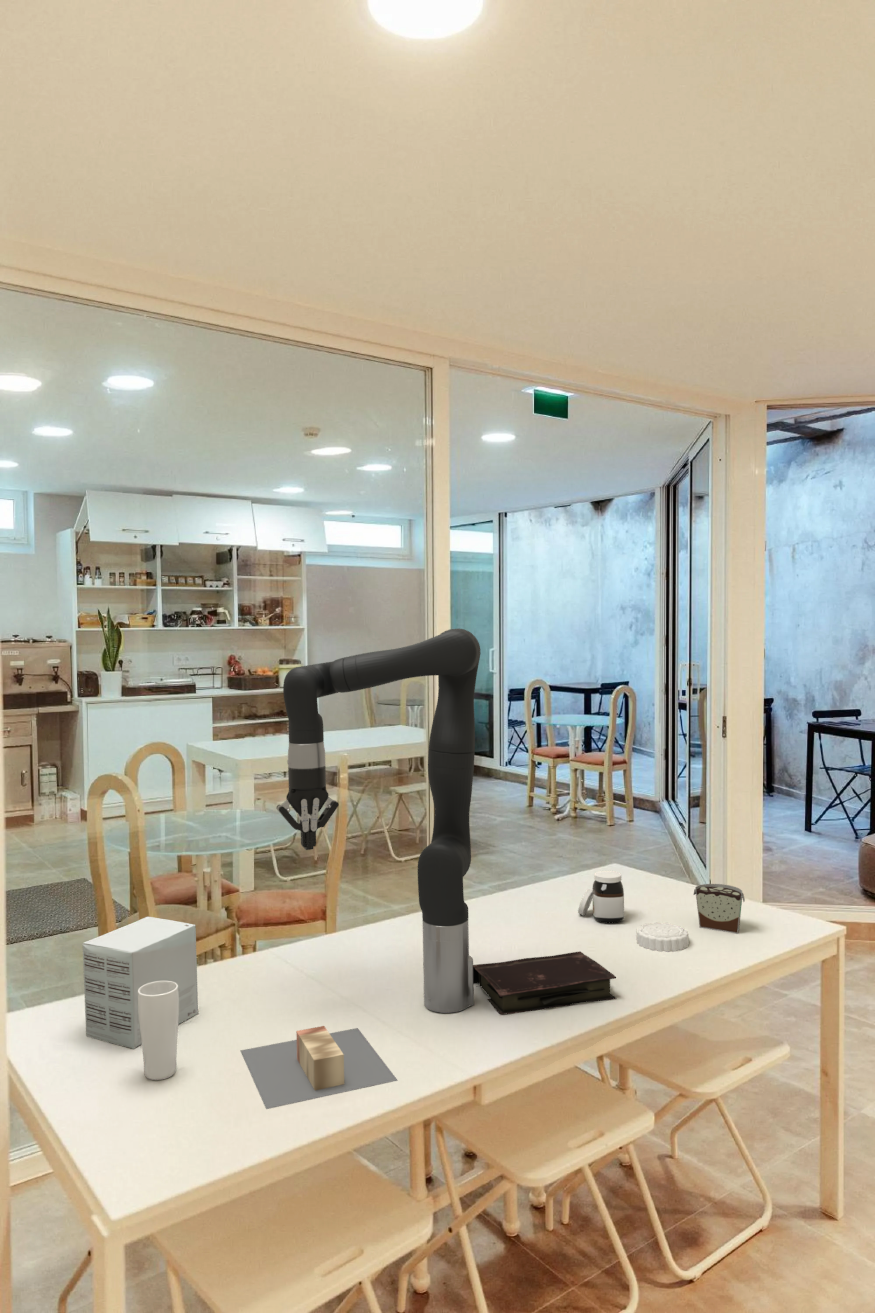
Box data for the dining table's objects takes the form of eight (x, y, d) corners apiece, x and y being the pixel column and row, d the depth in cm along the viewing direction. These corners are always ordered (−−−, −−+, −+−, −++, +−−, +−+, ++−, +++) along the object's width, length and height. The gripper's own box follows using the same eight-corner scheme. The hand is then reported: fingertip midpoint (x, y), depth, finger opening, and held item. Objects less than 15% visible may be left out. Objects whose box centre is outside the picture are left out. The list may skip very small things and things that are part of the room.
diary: (471, 985, 197) (471, 962, 197) (579, 971, 204) (579, 948, 204) (501, 1019, 179) (501, 994, 179) (618, 1002, 186) (618, 978, 186)
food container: (750, 927, 229) (750, 887, 228) (744, 934, 223) (744, 893, 223) (700, 919, 235) (700, 880, 235) (693, 926, 230) (693, 886, 230)
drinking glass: (158, 1087, 154) (156, 998, 154) (131, 1077, 158) (128, 991, 157) (189, 1070, 160) (186, 985, 160) (162, 1061, 164) (159, 977, 163)
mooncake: (699, 945, 217) (699, 930, 217) (664, 956, 211) (664, 941, 211) (660, 932, 227) (659, 917, 227) (625, 942, 220) (625, 927, 220)
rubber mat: (357, 1030, 175) (357, 1028, 175) (397, 1083, 154) (397, 1080, 154) (240, 1053, 166) (240, 1050, 166) (266, 1112, 146) (266, 1109, 146)
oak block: (324, 1026, 164) (343, 1054, 153) (324, 1053, 164) (344, 1084, 153) (296, 1031, 162) (314, 1060, 151) (297, 1059, 162) (314, 1090, 151)
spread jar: (627, 925, 232) (626, 879, 232) (581, 926, 232) (581, 880, 232) (618, 910, 244) (617, 866, 244) (575, 911, 244) (574, 867, 244)
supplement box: (150, 1002, 190) (147, 915, 189) (200, 1014, 183) (197, 924, 183) (82, 1036, 174) (79, 941, 174) (134, 1050, 168) (131, 952, 168)
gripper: (278, 769, 182) (280, 857, 183) (343, 764, 187) (345, 849, 188) (270, 764, 189) (272, 848, 190) (333, 759, 194) (335, 841, 195)
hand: (308, 849), depth 189 cm, fingers closed
